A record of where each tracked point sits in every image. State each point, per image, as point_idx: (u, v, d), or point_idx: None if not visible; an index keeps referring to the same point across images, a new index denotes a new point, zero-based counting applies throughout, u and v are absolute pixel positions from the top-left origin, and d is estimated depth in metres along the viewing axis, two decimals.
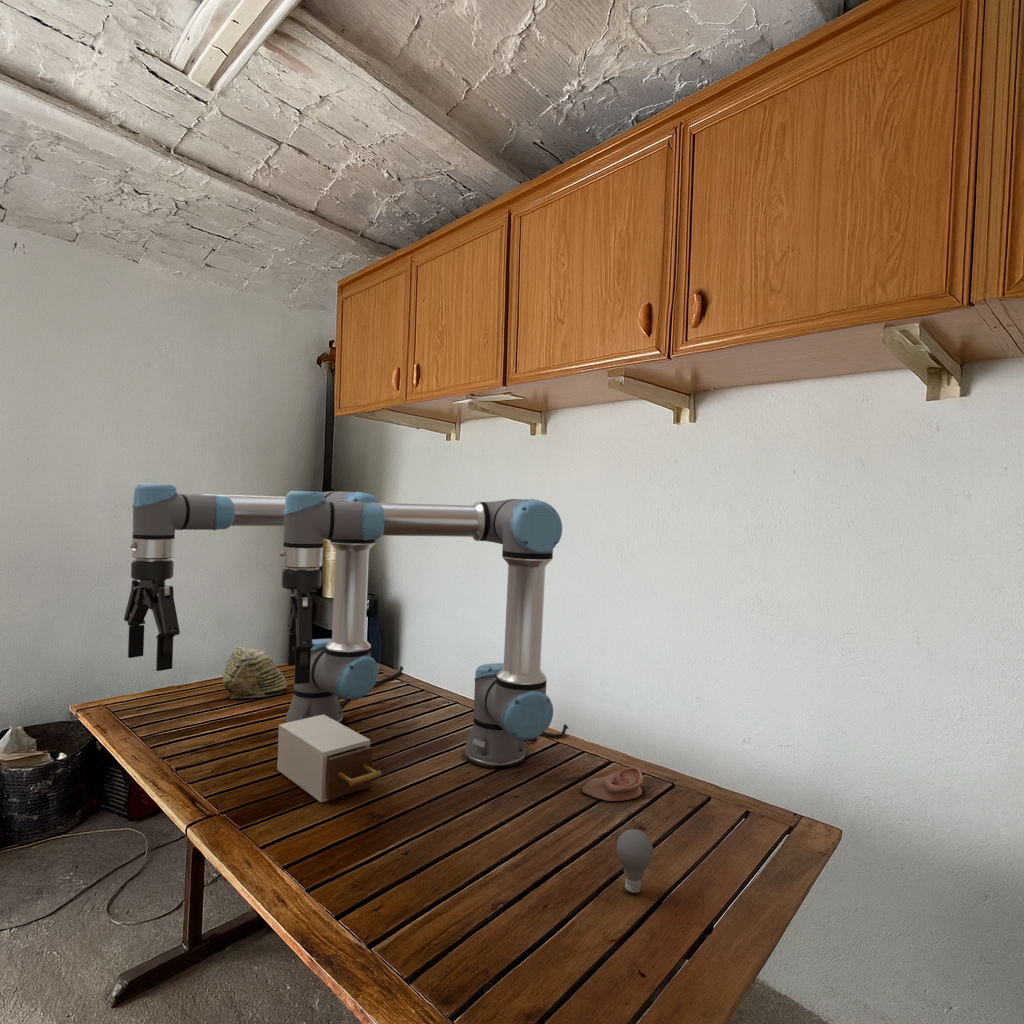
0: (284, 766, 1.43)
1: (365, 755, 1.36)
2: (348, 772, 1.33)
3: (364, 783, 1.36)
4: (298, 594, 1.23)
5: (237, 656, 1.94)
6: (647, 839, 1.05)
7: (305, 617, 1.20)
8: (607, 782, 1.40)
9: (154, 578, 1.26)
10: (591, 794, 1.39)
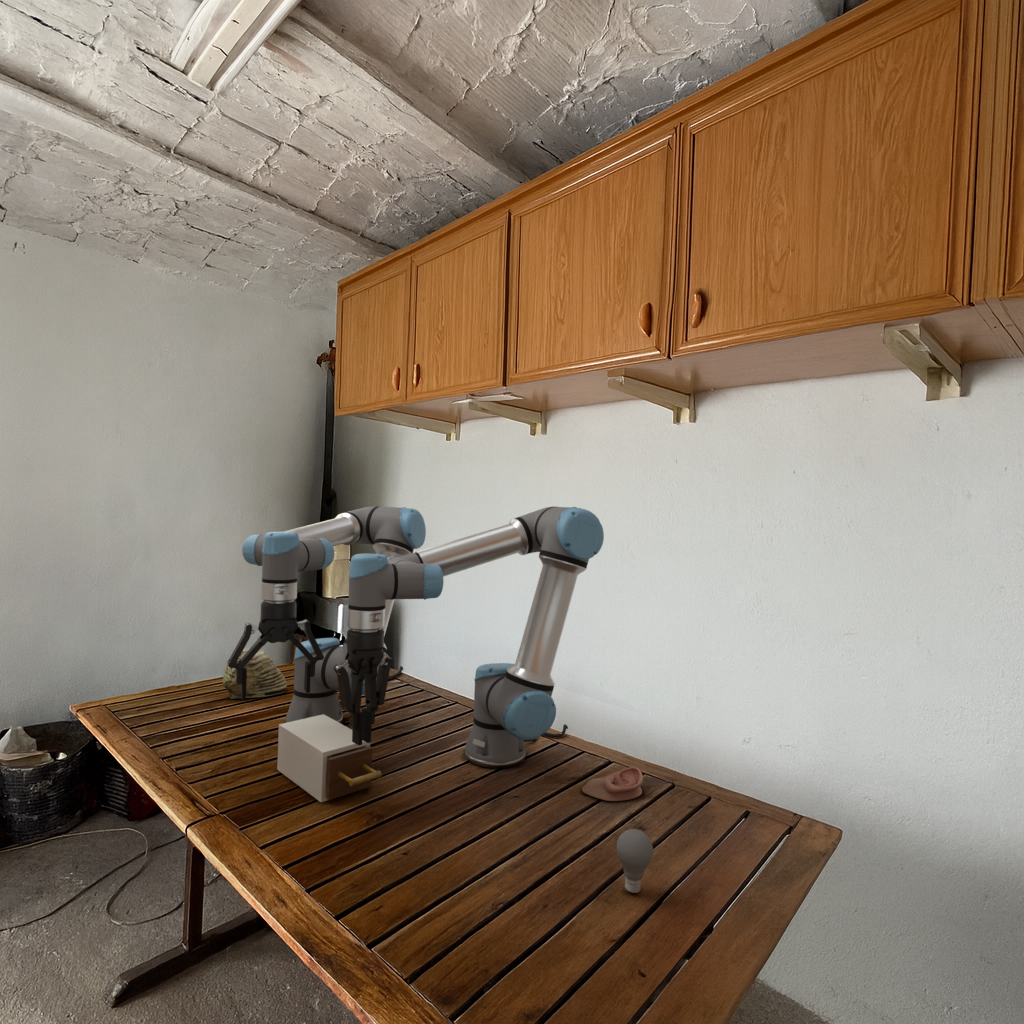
0: (284, 766, 1.43)
1: (365, 755, 1.36)
2: (348, 772, 1.33)
3: (364, 783, 1.36)
4: (382, 649, 1.33)
5: None
6: (647, 839, 1.05)
7: None
8: (607, 782, 1.40)
9: None
10: (591, 794, 1.39)
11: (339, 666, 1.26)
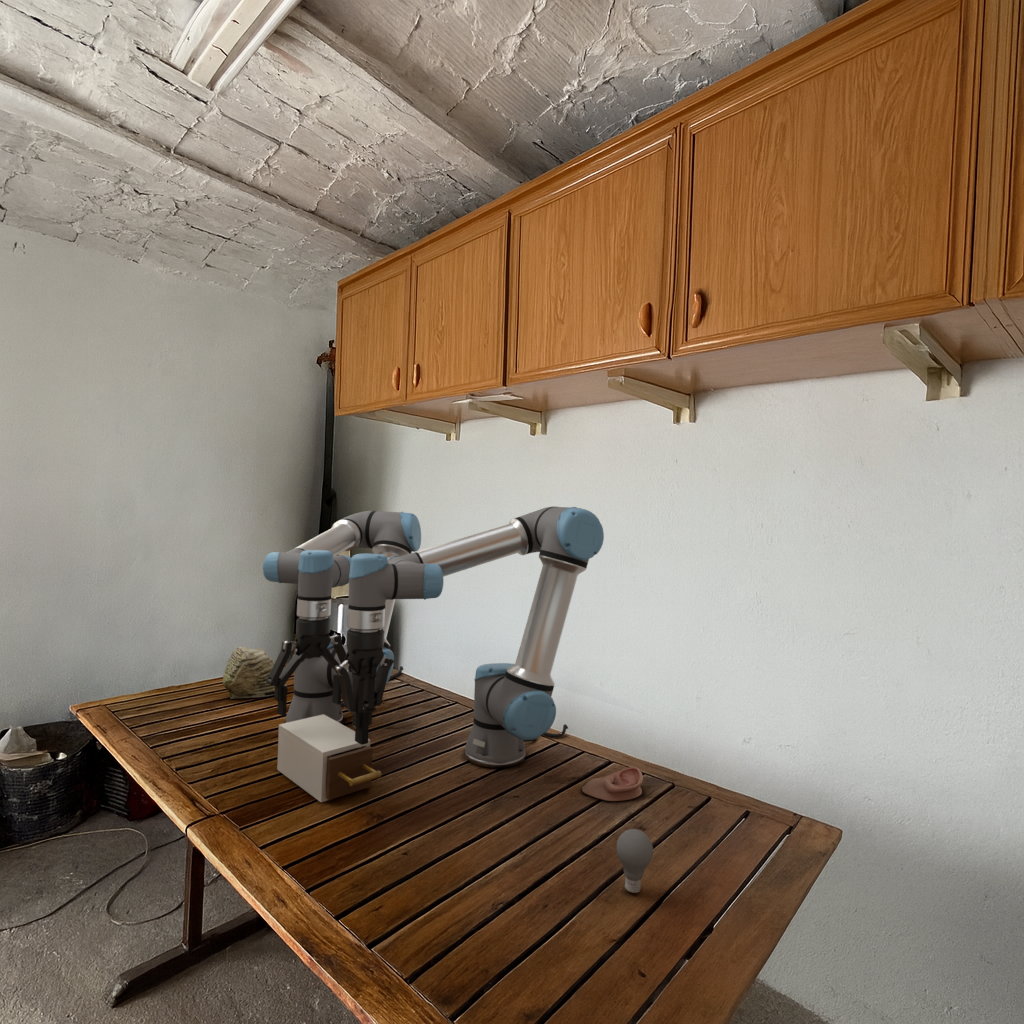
0: (284, 766, 1.43)
1: (365, 755, 1.36)
2: (348, 772, 1.33)
3: (364, 783, 1.36)
4: (382, 649, 1.33)
5: (237, 656, 1.94)
6: (647, 839, 1.05)
7: None
8: (607, 782, 1.40)
9: None
10: (591, 794, 1.39)
11: (339, 667, 1.26)
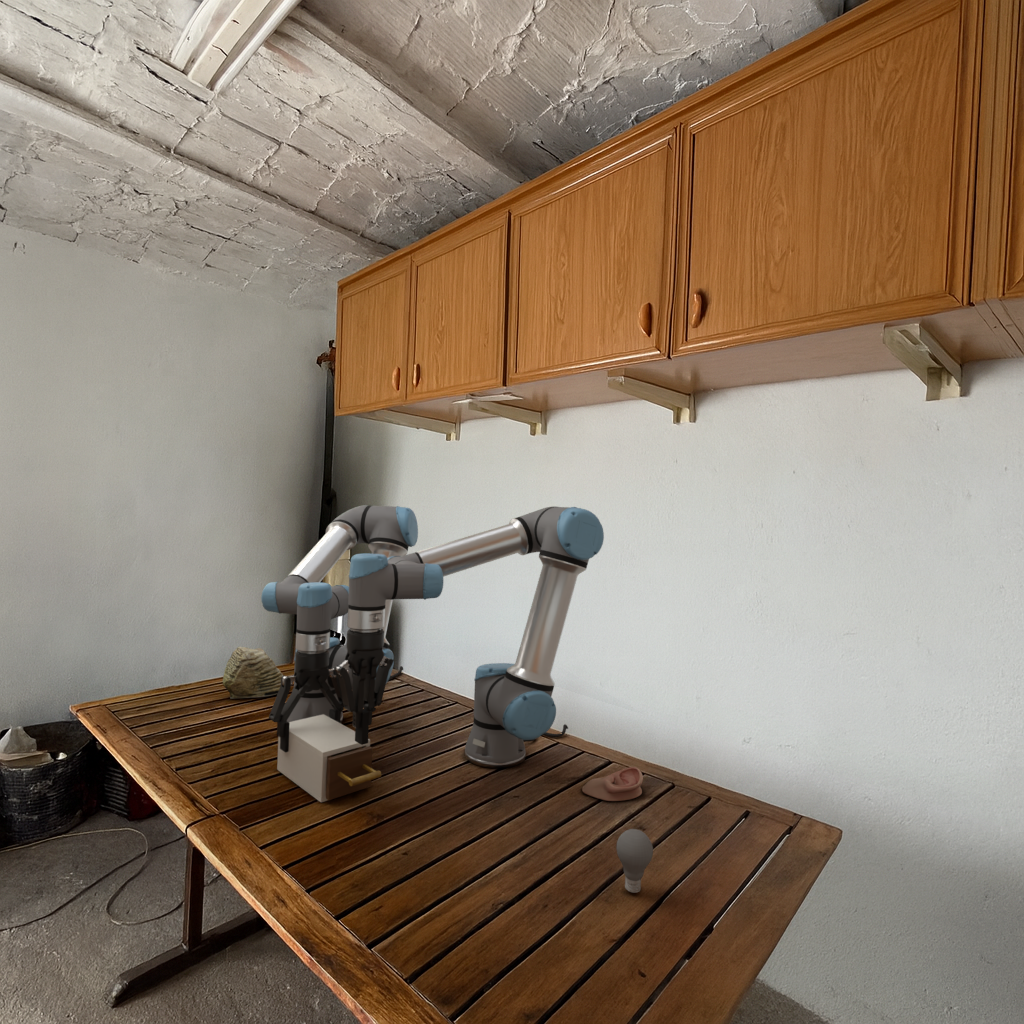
0: (284, 766, 1.43)
1: (365, 755, 1.36)
2: (348, 772, 1.33)
3: (364, 783, 1.36)
4: (382, 649, 1.33)
5: (237, 656, 1.94)
6: (647, 839, 1.05)
7: None
8: (607, 782, 1.40)
9: None
10: (591, 794, 1.39)
11: (339, 667, 1.26)
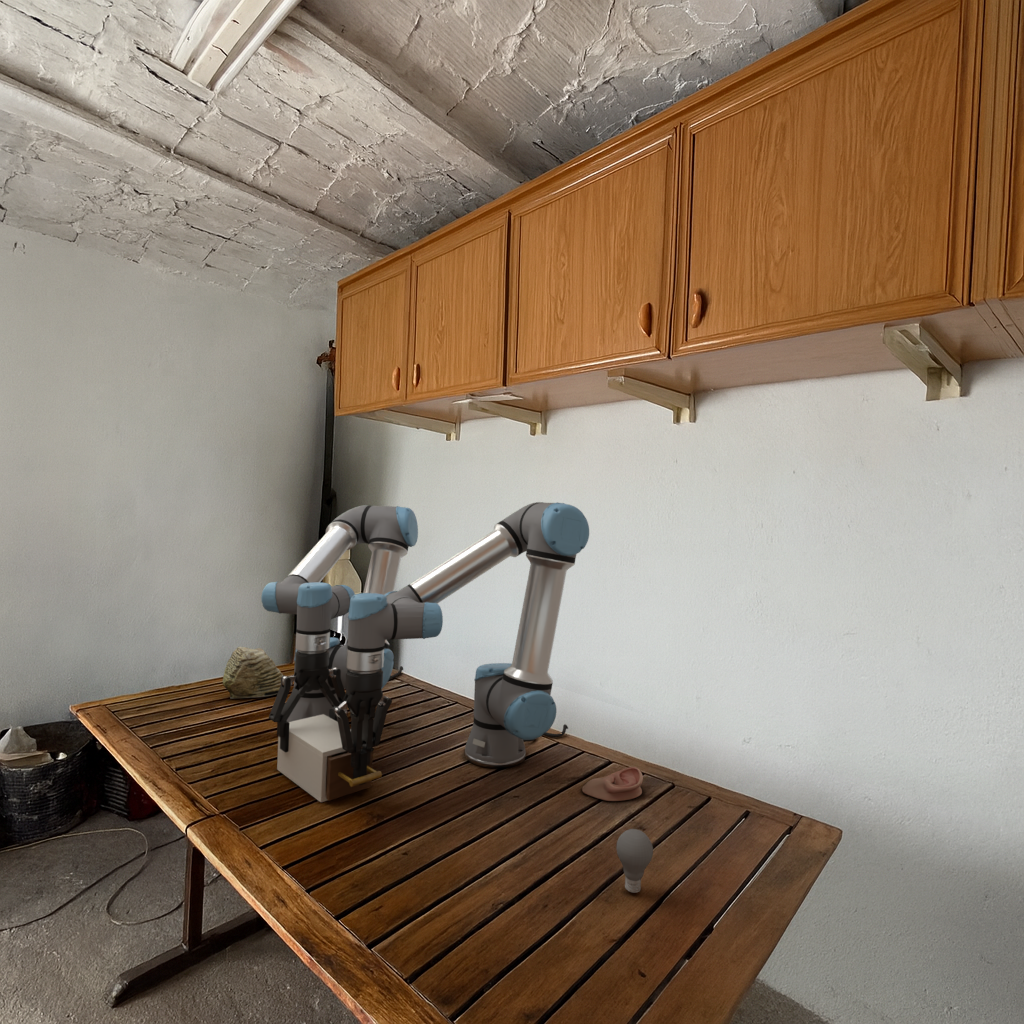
0: (284, 766, 1.43)
1: None
2: (348, 772, 1.33)
3: None
4: None
5: (237, 656, 1.94)
6: (647, 839, 1.05)
7: None
8: (607, 782, 1.40)
9: None
10: (591, 794, 1.39)
11: (338, 708, 1.26)
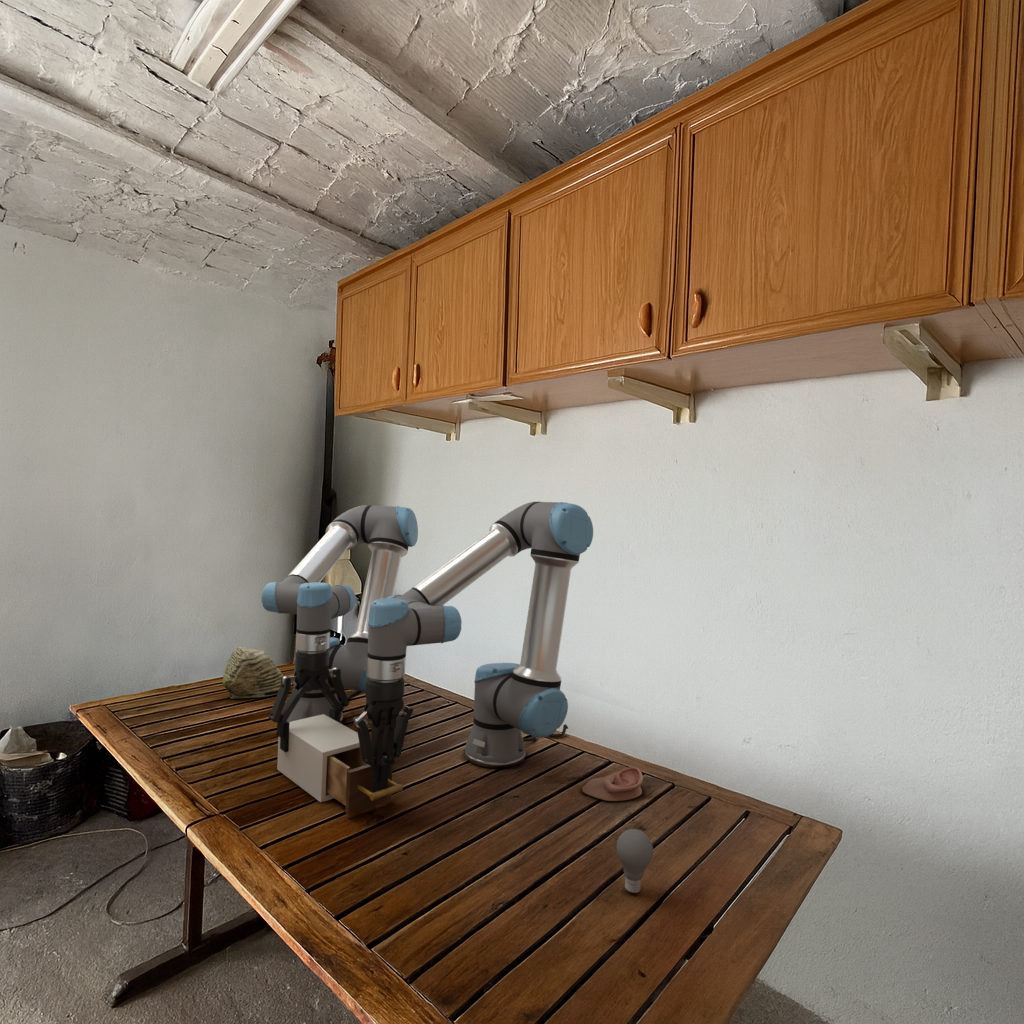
0: (284, 766, 1.43)
1: None
2: (368, 785, 1.28)
3: (384, 796, 1.31)
4: (402, 699, 1.27)
5: (237, 656, 1.94)
6: (647, 839, 1.05)
7: None
8: (607, 782, 1.40)
9: None
10: (591, 794, 1.39)
11: (358, 719, 1.21)
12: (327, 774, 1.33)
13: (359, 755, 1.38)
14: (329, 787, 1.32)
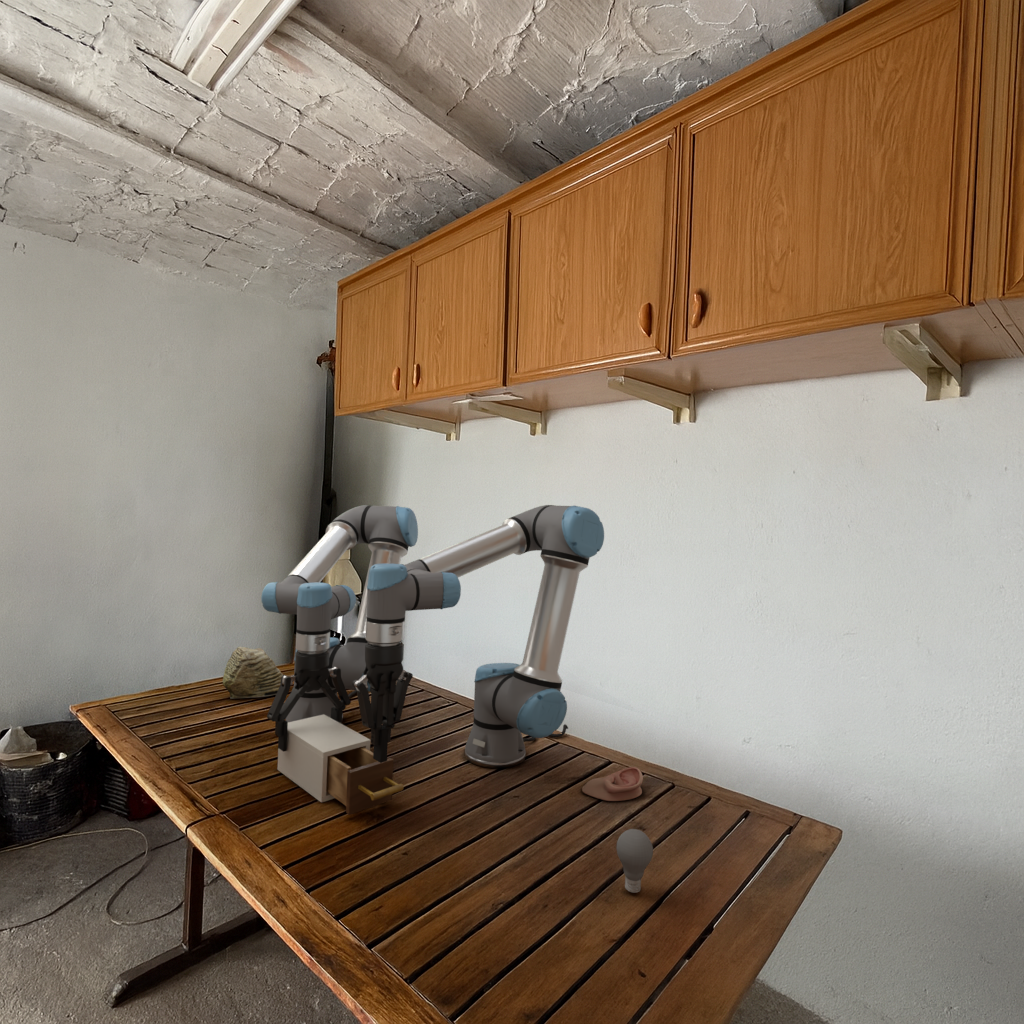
0: (284, 766, 1.43)
1: (386, 767, 1.30)
2: (368, 785, 1.28)
3: (385, 796, 1.31)
4: (401, 663, 1.28)
5: (237, 656, 1.94)
6: (647, 839, 1.05)
7: None
8: (607, 782, 1.40)
9: None
10: (591, 794, 1.39)
11: (358, 682, 1.21)
12: (328, 774, 1.33)
13: (359, 755, 1.38)
14: (330, 787, 1.32)
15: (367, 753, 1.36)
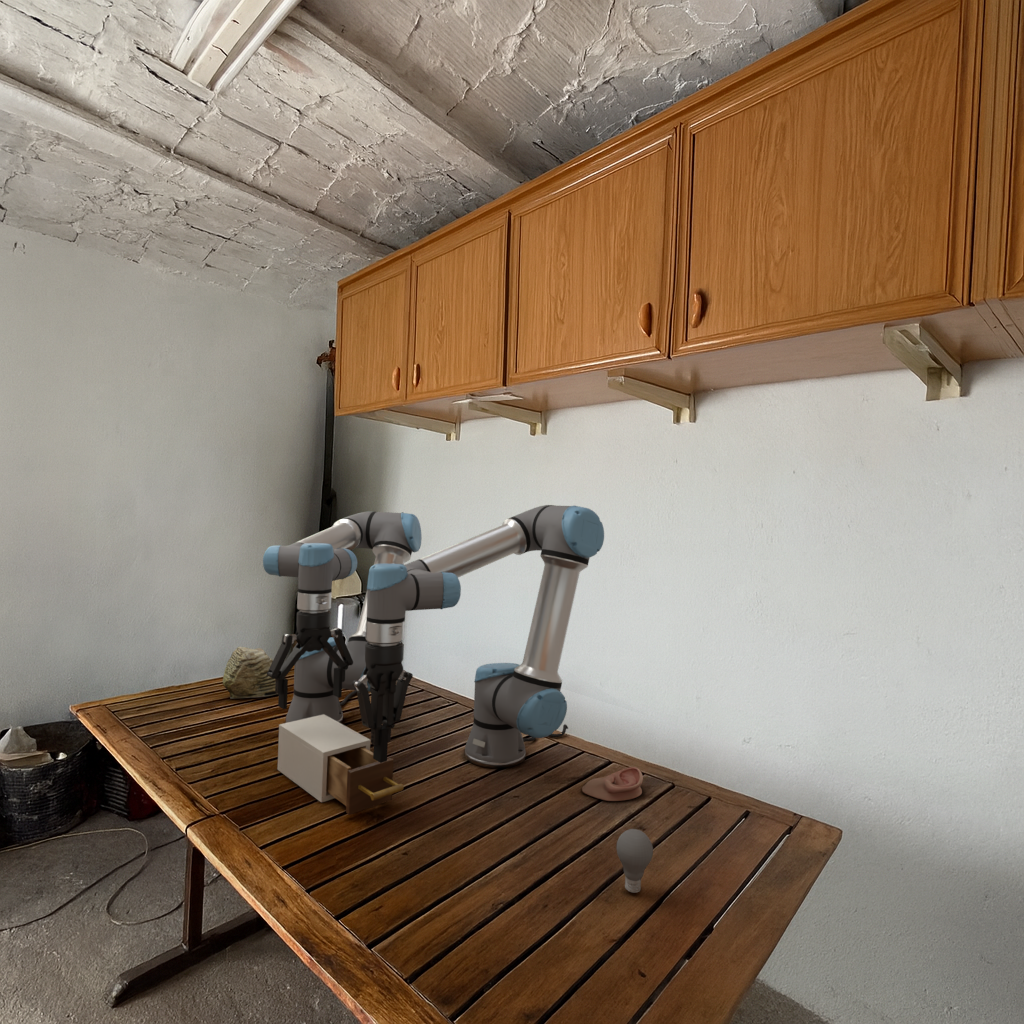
0: (284, 766, 1.43)
1: (386, 767, 1.30)
2: (368, 785, 1.28)
3: (385, 796, 1.31)
4: (401, 663, 1.28)
5: (237, 656, 1.94)
6: (647, 839, 1.05)
7: None
8: (607, 782, 1.40)
9: None
10: (591, 794, 1.39)
11: (358, 682, 1.21)
12: (328, 774, 1.33)
13: (359, 755, 1.38)
14: (330, 787, 1.32)
15: (367, 753, 1.36)
